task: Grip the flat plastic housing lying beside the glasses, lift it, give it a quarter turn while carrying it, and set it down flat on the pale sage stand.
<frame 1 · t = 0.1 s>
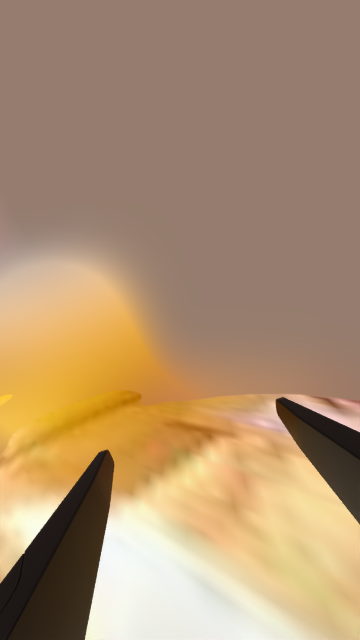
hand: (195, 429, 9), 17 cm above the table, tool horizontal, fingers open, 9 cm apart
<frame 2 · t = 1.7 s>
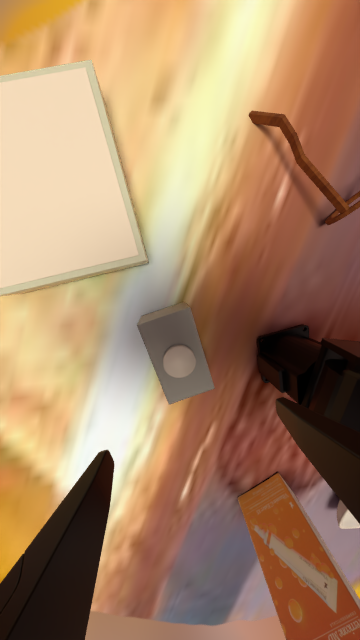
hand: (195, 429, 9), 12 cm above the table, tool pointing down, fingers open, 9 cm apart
stand: (59, 206, 15), on the table
glasses: (331, 132, 17), on the table
small box: (264, 492, 28), on the table
housing: (175, 343, 20), on the table
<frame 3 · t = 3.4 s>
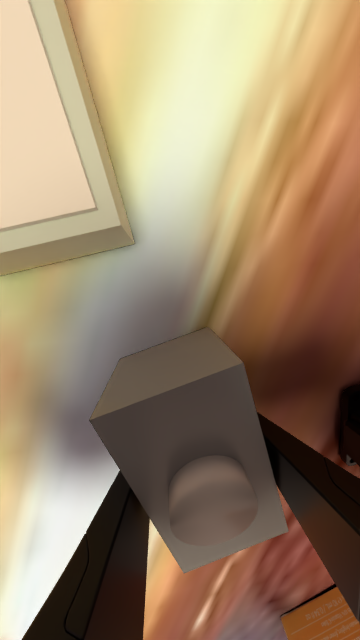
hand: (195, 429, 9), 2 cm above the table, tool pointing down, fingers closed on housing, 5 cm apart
small box: (319, 603, 19), on the table
housing: (190, 407, 10), on the table, touching gripper
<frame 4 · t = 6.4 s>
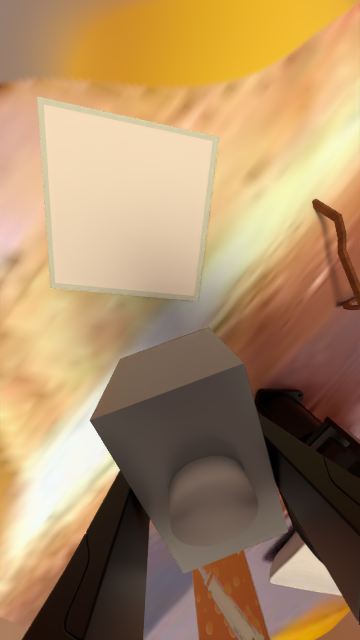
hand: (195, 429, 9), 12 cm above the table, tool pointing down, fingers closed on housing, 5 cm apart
stand: (135, 226, 17), on the table
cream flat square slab: (328, 528, 33), on the table
small box: (213, 530, 29), on the table
housing: (190, 407, 10), point 10 cm above the table, touching gripper
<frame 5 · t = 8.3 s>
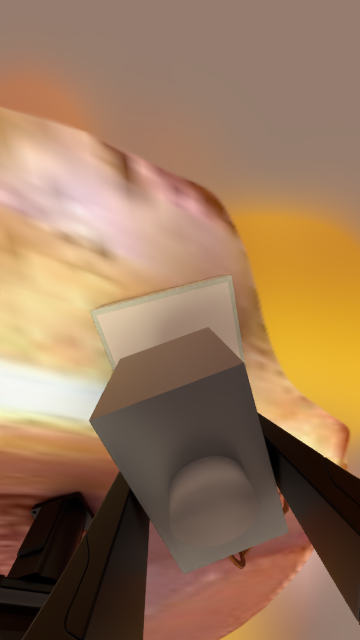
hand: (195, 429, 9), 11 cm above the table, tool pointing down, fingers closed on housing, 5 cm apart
stand: (176, 345, 19), on the table
housing: (190, 407, 10), point 10 cm above the table, touching gripper
when the fingers open (6 cm above the table, at t = 9.7 s): housing drops 1 cm, resting on stand.
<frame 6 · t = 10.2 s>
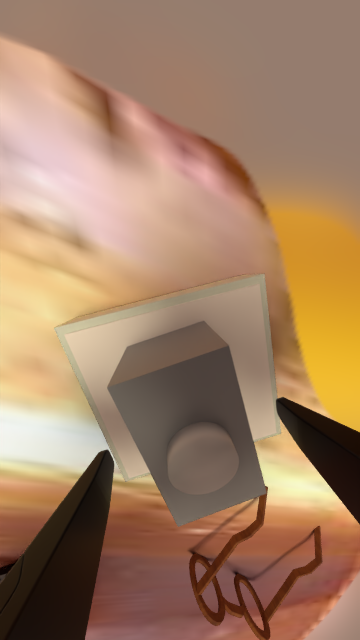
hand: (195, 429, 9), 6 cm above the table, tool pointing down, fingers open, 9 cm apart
stand: (181, 369, 14), on the table
glasses: (253, 531, 22), on the table
housing: (186, 392, 12), point 3 cm above the table, touching stand
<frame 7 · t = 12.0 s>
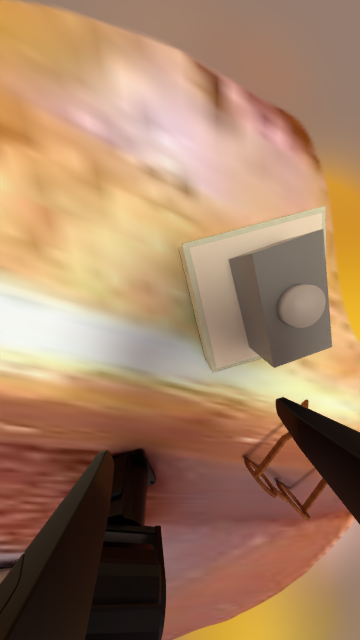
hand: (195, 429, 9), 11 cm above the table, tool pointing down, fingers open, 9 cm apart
stand: (248, 294, 19), on the table
glasses: (292, 444, 27), on the table
housing: (264, 297, 16), point 3 cm above the table, touching stand
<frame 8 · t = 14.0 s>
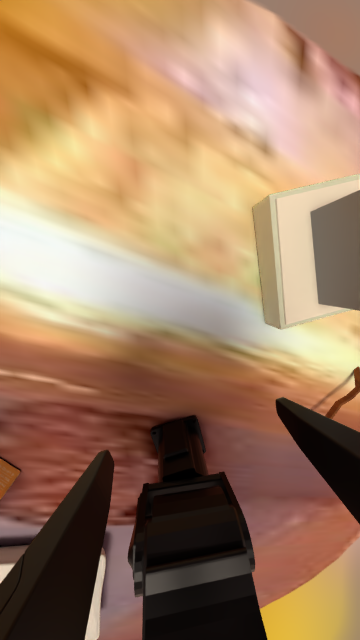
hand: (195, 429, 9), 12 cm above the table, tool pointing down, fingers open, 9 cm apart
stand: (311, 256, 20), on the table
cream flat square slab: (42, 571, 28), on the table
glasses: (339, 415, 27), on the table
housing: (337, 253, 17), point 3 cm above the table, touching stand
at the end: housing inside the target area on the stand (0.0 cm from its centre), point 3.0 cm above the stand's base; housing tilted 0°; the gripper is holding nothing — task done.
